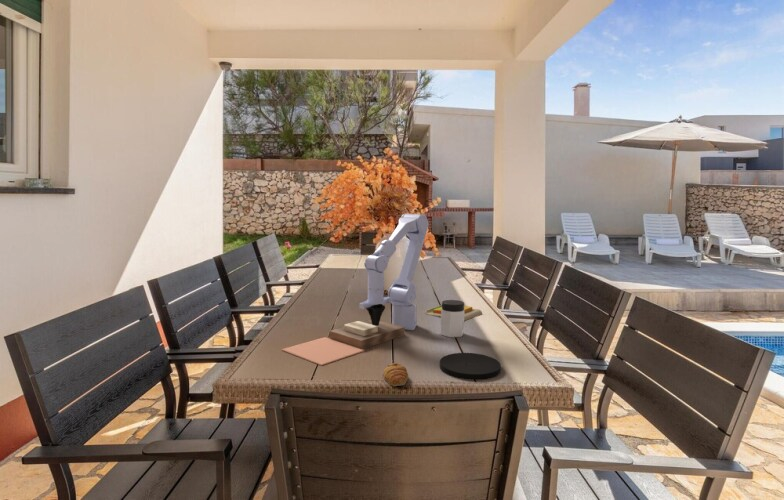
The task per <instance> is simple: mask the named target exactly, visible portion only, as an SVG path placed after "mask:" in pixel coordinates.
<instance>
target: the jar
mask: <svg viewBox="0 0 784 500" xmlns="http://www.w3.org/2000/svg"><path fill="white" fill-rule="evenodd" d="M441 305H442V310H441V317H440V335H441V336H443V337H446V338H461V337H463V336H464V334H465V321H464V311H465V309H464V306H465V302H464V301H462V300H458V299H448V300H447V299H446V300H443V301H441Z"/></svg>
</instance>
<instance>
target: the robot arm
mask: <svg viewBox="0 0 784 500" xmlns="http://www.w3.org/2000/svg"><path fill="white" fill-rule="evenodd" d="M429 224H430V223H429V221H428V218H427V215H425V214H422V213H421V214H414V213H403V214H402V215H401V217H400V218H399V219H398V224H397V226H396V228H395V229H394V230H393V232H392V233H391V235H390V236H389V238H388V239H384V240H381V243H380V245H379V246H378V247H377V249H376V250H375V251H374V252H373V254H369V255H368V256H367V257H366V259H365V260H364V263H363V267H364V268H365V270H366V275H367V299H366V300H364V301H362V302H359V304H358V305H359V306H358V307H359V309H360V310H365V309H366V311H367V313H368V315H369V317H370V320H371V321H372V325H375V326H378V325H379V322H380V321H381V318H382V315H383V313H384V312H385V309H386V306H385V304H392V310H391V311H392V312H391V315H392V317H391V320H392V321H391V324H395V325H398V326H402V327H405V330H407V331H408V330H409V331H413V330H415V329H416V327H417V325H418V307H417V304H414V303H415V300H416V298H417V289H418V288H417V286H416V284H415V283H414V277H415V274H416V270H417V267H418V264H419V261H420V257H421V254H422V250H423V247H424V243H425V239H426V235H427V232H428V228H429ZM405 236H407V237H408V238H409V242H408V246H407V249H406V253H405V256H404V260H403V264H402V266H401V269H400V274H399V277H397V279H395V280H393V281H392V284H391V286H390V287H389V289H388V292H387V296H385V295H384V293H385V292H384V285H385V282H384V279H385V271H386V270H387V268H388V263H389V261H390V259H391V257H392V256H393V255H394V254H395V253H396V251H397V245H398V244H399V242H401V240H402V239H403V238H404V237H405Z"/></svg>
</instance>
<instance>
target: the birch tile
mask: <svg viewBox="0 0 784 500" xmlns="http://www.w3.org/2000/svg"><path fill="white" fill-rule="evenodd" d="M343 327H344V330H345V331H348V332H351V333H355V334H358V335H361V336H366V335H369V334H372V333H375V332H378V326H375V325H371V324H368V323H364V321H359V320H356V321H352V322H349V323H345V324H343Z"/></svg>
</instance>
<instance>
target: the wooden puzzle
mask: <svg viewBox="0 0 784 500" xmlns="http://www.w3.org/2000/svg"><path fill="white" fill-rule="evenodd" d="M464 309H465V311H464V322H465V321H468V320H471V319H473V318H476V317H478V316H481V315H482V313H483V311H482V310H481V309H478V308H473V306H468V305H467V306H465V305H464ZM441 310H442V304H440V305H438V306H434V307H431V308H429V309H426V310H425V311H424V314H425V315H427V316H432V317H437V318H441Z"/></svg>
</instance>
